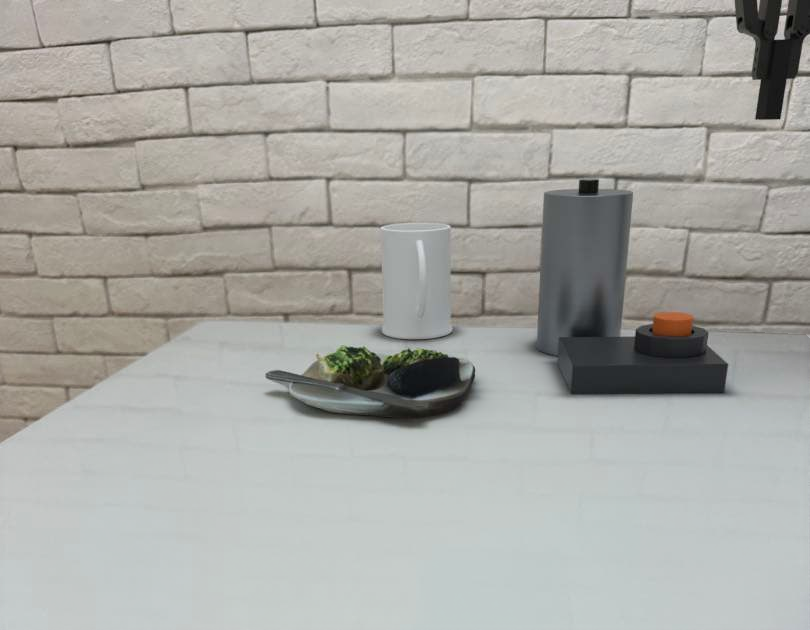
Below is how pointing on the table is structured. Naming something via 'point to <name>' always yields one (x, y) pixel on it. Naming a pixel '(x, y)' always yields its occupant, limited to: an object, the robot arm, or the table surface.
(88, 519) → the table surface
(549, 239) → the grey canister
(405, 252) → the mug
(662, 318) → the kettle button
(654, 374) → the dark grey button base
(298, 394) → the salad plate
